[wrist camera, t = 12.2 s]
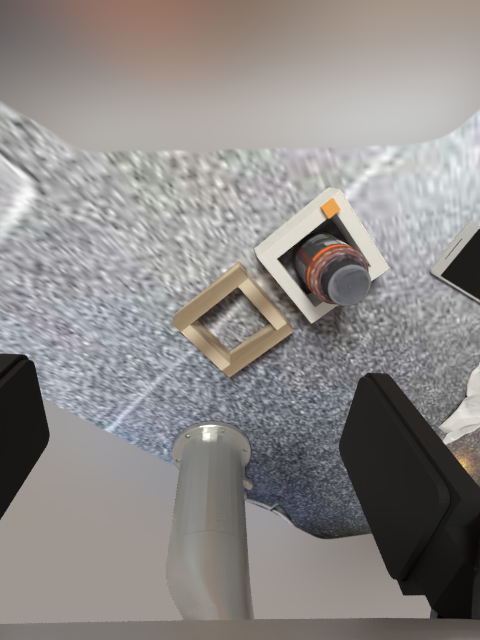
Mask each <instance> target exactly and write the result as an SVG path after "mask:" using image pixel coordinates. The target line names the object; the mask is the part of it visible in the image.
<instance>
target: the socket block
mask: <svg viewBox="0 0 480 640" xmlns="http://www.w3.org/2000/svg"><path fill="white" fill-rule="evenodd" d="M330 218H332V219H333V221H334V222H335V224H336V225H337V227H338V228H339V230H340V231H341V233H342V234H343V236H344V237H345V239H346V240H347V242H348V243H349V245H350V246H351V247H353V248H354V249H356V250H357V251H359V252H360V253H361V254H362V255H363V256H364V258H365V259H366V261H367V264H368V269H369V275H370V277H371V281H373V280H374V279H375V278H377V277H378V276H380V275H381V274H382V273H384V272H385V271H387V270H388V269H389V266H388V265H387V263H386V262H385V260H384V258H383V257H382V255H381V254H380V252H379V250H378V249H377V247H376V246H375V244H374V242H373V241H372V239H371V238H370V236H369V234H368V233H367V231H366V230H365V228H364V226H363V225H362V223H361V222H360V220H359V219H358V217H357V215H356V214H355V212H354V211H353V209H352V207H351V206H350V204H349V203H348V201H347V199H346V198H345V196H344V195H343V193H342V191H341V190H339V189H334V188H329V187H328V188H327V189H326V190H325V191H324V192H322V193H321V194H320V195H319V196H317V197H316V198H315V199H314V200H313V201H311V202H310V203H309V204H308V205H307V206H305V207H304V208H303V209H302V210H300V211H299V212H298V213H297V214H296V215H294V216H293V217H292V218H291V219H290V220H288V221H287V222H286V223H285V224H283V225H282V226H281V227H280V228H279V229H277V230H276V231H275V232H274V233H273V234H271V235H270V236H269V237H268V238H267V239H265V240H264V241H263V242H262V243H260V244H259V245H258V246H257V247H256V248H254V250H255V252H256V255H257V258H258V259H259V260H260V261H261V262H262V264H263V265H264V266H265V267H266V269H267V270H268V271H269V272H270V273H271V275H272V276H273V277H274V278H275V280H276V281H277V282H278V283H279V284H280V286H281V287H282V288H283V289H284V291H285V292H286V293H287V294H288V295H289V297H290V298H291V299H292V300H293V302H294V303H295V304H296V305H297V306H298V308H299V309H300V310H301V311H302V313H303V314H304V315H305V316H306V317H307V319H308V320H309V321H310V322H311V324H312V323H313V322H315V321H316V320H318V319H319V318H320V317H322V316H323V315H325V314H326V313H327V312H329V311H330V310H332V309H333V308H335V307H336V306H337V305H338V304H328V303H325V302H323V301H321V300H319V299H318V298H317V297H316V296H315V295H314V294H313V293H312V292H311V293H309V294H308V295H306V293H305V292H304V291H303V289H302V288H301V287H300V286H299V284H298V283H297V282H296V281H295V279H294V278H293V277H292V275H291V274H290V273H289V272H288V270H287V269H286V268H285V267H284V265H283V264H282V263H281V262H280V260H279V259H278V258H279V257H280V256H281V255H282V254H284V253H285V252H286V251H287V250H289V249H290V248H291V247H292V246H294V245H295V244H296V243H297V242H299V241H300V240H301V239H302V238H304V237H305V236H306V235H307V234H309V233H310V232H311V231H312V230H314V229H315V228H316V227H317V226H319V225H320V224H321V223H322V222H324V221H325V220H326V219H330Z"/></svg>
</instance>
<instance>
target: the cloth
mask: <svg viewBox="0 0 480 640" xmlns="http://www.w3.org/2000/svg"><path fill="white" fill-rule="evenodd" d="M479 427H480V364H479V366H478V368H476V369H475V370H474V371H473V372H472V374H471V375H470V378H469V381H468V383H467V397H466V398H465V399H464V400H463V401H462V403H461V404H460V406H459V407H458V408H457V410H456V411H455V412H454V413H453V414H452V415H451V416H450V417H449V418H448V419H447V420H446V421H445V422H444V423H443V424H441V425H440V426H439V428H440V429H441V430H442V431H444V432H445V433H447V432H450V433H448V434H447V435H446V437H445V439H444V440H443V443H444V444H445V445H446V444H448V443H450V442H453V441H455V440H457V439H458V438H460V437H461V436H463V435H464V434H467V433H470V432H472V431H474V430H476V429H477V428H479Z"/></svg>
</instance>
